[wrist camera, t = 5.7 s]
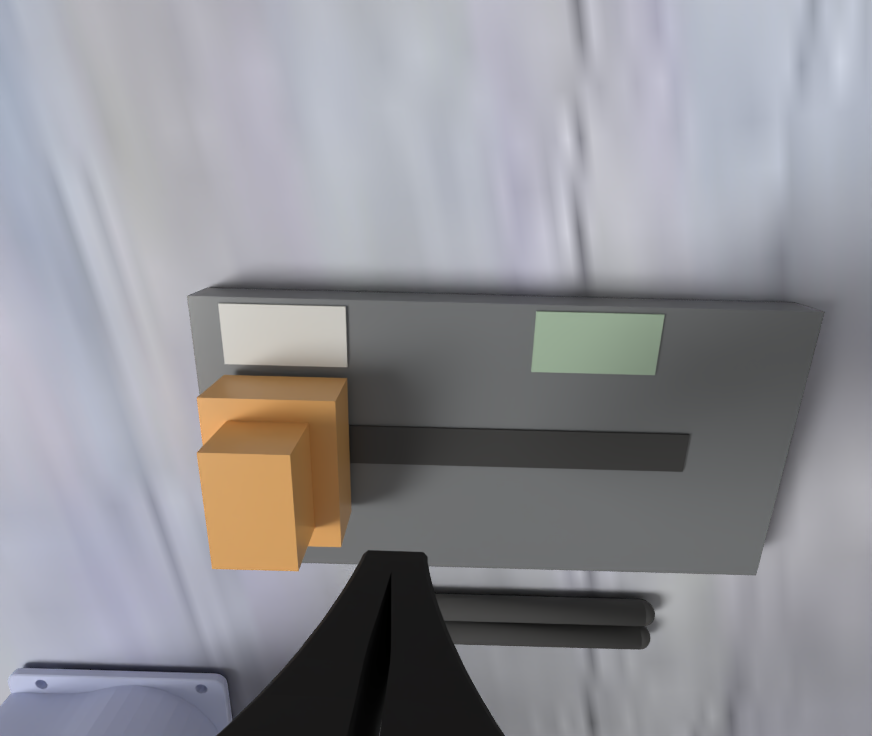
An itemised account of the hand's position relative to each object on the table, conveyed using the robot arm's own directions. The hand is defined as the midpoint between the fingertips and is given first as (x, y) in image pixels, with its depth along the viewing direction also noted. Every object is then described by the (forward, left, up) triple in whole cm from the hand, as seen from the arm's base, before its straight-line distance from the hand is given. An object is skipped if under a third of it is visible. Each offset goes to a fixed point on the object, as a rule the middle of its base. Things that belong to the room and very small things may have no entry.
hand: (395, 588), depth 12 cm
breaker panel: (+3, 0, -8) cm, 9 cm away
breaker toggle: (-4, 0, -7) cm, 8 cm away
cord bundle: (+4, -9, -8) cm, 13 cm away
